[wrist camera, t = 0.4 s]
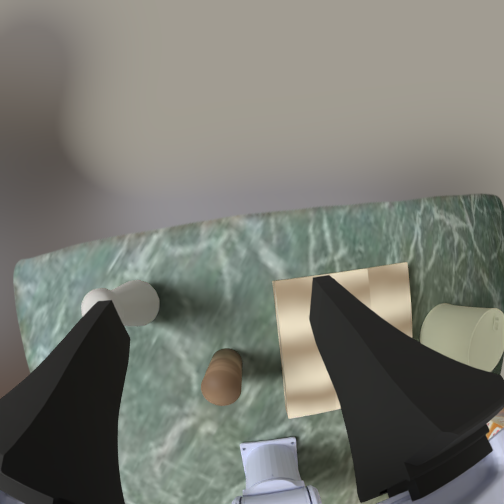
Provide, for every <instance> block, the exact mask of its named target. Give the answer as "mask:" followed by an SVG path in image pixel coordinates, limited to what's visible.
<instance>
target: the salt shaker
mask: <svg viewBox="0 0 504 504" xmlns="http://www.w3.org/2000/svg"><path fill="white" fill-rule="evenodd" d="M105 300H112V302H113V304H114V306H115V308H116V310H117V312H118V315H119V317H120V319H121V321H122V323H123V325H124V326H143V325H147V324H149V323H150V322H152V321H153V320H154V319H155V317H156V315H157V313H158V311H159V302H160V300H159V297H158V295H157V293H156V290H155V289H154V288H153V287H152V286H151V285H150V284H149V283H147V282H144V281H141V280H133V281H128V282H127V283H125V284H123V285H121V286H119V287H117V288H115V289H113V290H108V289H106V288H100V289H93V290H91V291H90V292H89V293H88V294H87V295H85V297H84V299H83V302H82V316H84V315H85V314H86V313H87V312H88V311H89V310H90V308H91V307H92V306H93V305H94V304H95V303H97V302H98V301H105Z"/></svg>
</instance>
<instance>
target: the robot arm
mask: <svg viewBox="0 0 504 504" xmlns="http://www.w3.org/2000/svg"><path fill="white" fill-rule="evenodd" d="M309 321H310V324H311V328H312V332H313V335H314V339H315V342H316V345H317V348H318V350H319V352H320V355H321V357H322V360H323V362H324V365H325V367H326V369H327V372H328V374H329V377H330V379H331V382H332V384H333V386H334V389H335V391H336V394H337V397H338V400H339V403H340V407H341V410H342V414H343V418H344V422H345V426H346V430H347V434H348V438H349V443H350V448H351V453H352V458H353V463H354V470H355V476H356V484H357V493H358V497H359V500H360V502H361V503H362V502H365V501H368V500H370V499H373V498H376V497H378V496H381V495H383V494H386V493H388V496H389V499H386V500H384V501H381V502H379V503H376V504H504V427H503V428H502V429H501V430H500V431H498V432H497V433H496V434H495V435H494V436H492V437H491V438H490V439H489V440H488V439H487V437H486V434H487V433H489V428H488V426H487V423H488V422H489V421H490V420H491V419H492V418H494V417H495V416H496V415H497V414H498V413H499V412H500V411H501V410H502V409H503V408H504V380H503V378H502V376H501V375H498V374H495V373H491V372H488V371H484V370H481V369H477V368H474V367H471V366H469V365H466V364H464V363H461V362H459V361H456V360H454V359H451V358H449V357H447V356H445V355H443V354H441V353H439V352H437V351H435V350H433V349H431V348H429V347H427V346H425V345H423V344H421V343H420V342H418V341H416V340H415V339H413V338H411V337H410V336H408V335H406V334H405V333H403V332H402V331H400V330H399V329H397V328H396V327H394V326H393V325H391V324H390V323H388V322H387V321H386V320H384V319H383V318H381V317H380V316H379V315H378V314H376V313H375V312H374V311H372V310H371V309H370V308H368V307H367V306H366V305H365V304H363V303H362V302H361V301H360V300H359V299H357V298H356V297H355V296H354V295H353V294H351V293H350V292H349V291H348V290H347V289H345V288H344V287H343V286H342V285H341V284H340V283H338V282H337V281H336V280H335V279H334V278H332V277H331V276H330V275H325V276H319V277H313V280H312V293H311V304H310V315H309ZM129 348H130V337H129V335H128V333H127V331H126V329H125V327H124V325H123V323H122V321H121V319H120V317H119V315H118V312H117V310H116V308H115V306H114V304H113V302H112V300H105V301H98V302H97V303H95V304H94V305H93V306H92V307H91V308H90V310H89V311H88V312H87V313H86V314H85V315H84V316H83V317H82V318H81V319H80V321H79V322H78V323H77V324H76V325H75V326H74V327H73V329H72V330H71V331H70V332H69V333H68V334H67V335H66V337H65V338H64V339H63V340H62V341H61V342H60V343H59V344H58V345H57V347H56V348H55V349H54V350H53V351H52V352H51V353H50V354H49V355H48V357H47V358H46V359H45V360H44V361H43V362H42V363H41V364H40V365H39V366H38V367H37V368H36V369H35V370H34V371H33V372H32V373H31V374H30V375H29V376H28V377H26V378H25V379H24V380H23V381H22V382H21V383H19V384H18V385H17V386H16V387H15V388H13V389H12V390H11V391H10V392H9V393H8V394H6V395H5V396H3V397H2V398H1V399H0V504H125V502H124V498H123V493H122V487H121V481H120V473H119V464H118V416H119V409H120V403H121V397H122V392H123V387H124V382H125V376H126V371H127V366H128V360H129ZM291 442H294V443H291ZM243 448H246V449H243ZM240 449H241V454H242V459H243V465H244V470H245V475H246V489H245V490H243V497H242V496H237V497H235V499H234V500H233V501H232V504H322V502H321V498H320V495H319V492H318V490H317V488H315V487H313V486H312V485H307V486H306V487H305V484H304V481H303V480H302V481H301V478H300V474H299V471H298V461H297V447H296V438H295V437H289V438H282V439H275V440H267V441H258V442H248V443H241V444H240Z"/></svg>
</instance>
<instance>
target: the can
mask: <svg viewBox="0 0 504 504" xmlns="http://www.w3.org/2000/svg"><path fill="white" fill-rule="evenodd" d="M420 343H421V344H423V345H425V346H427V347H429V348H431V349H433V350H435V351H437V352H439V353H441V354H443V355H445V356H447V357H449V358H451V359H454V360H456V361H459V362H461V363H464V364H466V365H469V366H471V367H474V368H477V369H481V370H484V371H488V372H491V371H492V370H493V369H494V368H495V366H496V365H497V363H498V362H499V360H500V358H501V356H502V354H503V351H504V314H503V313H502V311H501V310H499V309H497V308H477V307H466V306H457V305H451V304H448V303H442V304H439V305H437V306H435V307H434V308H433V309H432V310H431V311H430V312H429V313H428V315H427V316H426V318H425V320H424V322H423V324H422V328H421V332H420Z"/></svg>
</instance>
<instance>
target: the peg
mask: <svg viewBox="0 0 504 504" xmlns="http://www.w3.org/2000/svg"><path fill="white" fill-rule="evenodd" d="M241 383H242V359H241V356H240V355H239V354H238V353H237V352H236V351H234V350H232V349H228V348H225V349H221V350H218V351H217V352H216V353H215V354H214V355H213V357H212V360H211V362H210V364H209V367H208V369H207V371H206V374H205V376H204V378H203V381H202V384H201V390H202V393H203V395H204V397H205V398H206V399H207V400H208V401H209V402H211V403H213V404H215V405H220V406H225V405H229V404H232V403H234V402H235V401H236V400H237V399H238V398H239V396H240V394H241Z"/></svg>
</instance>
